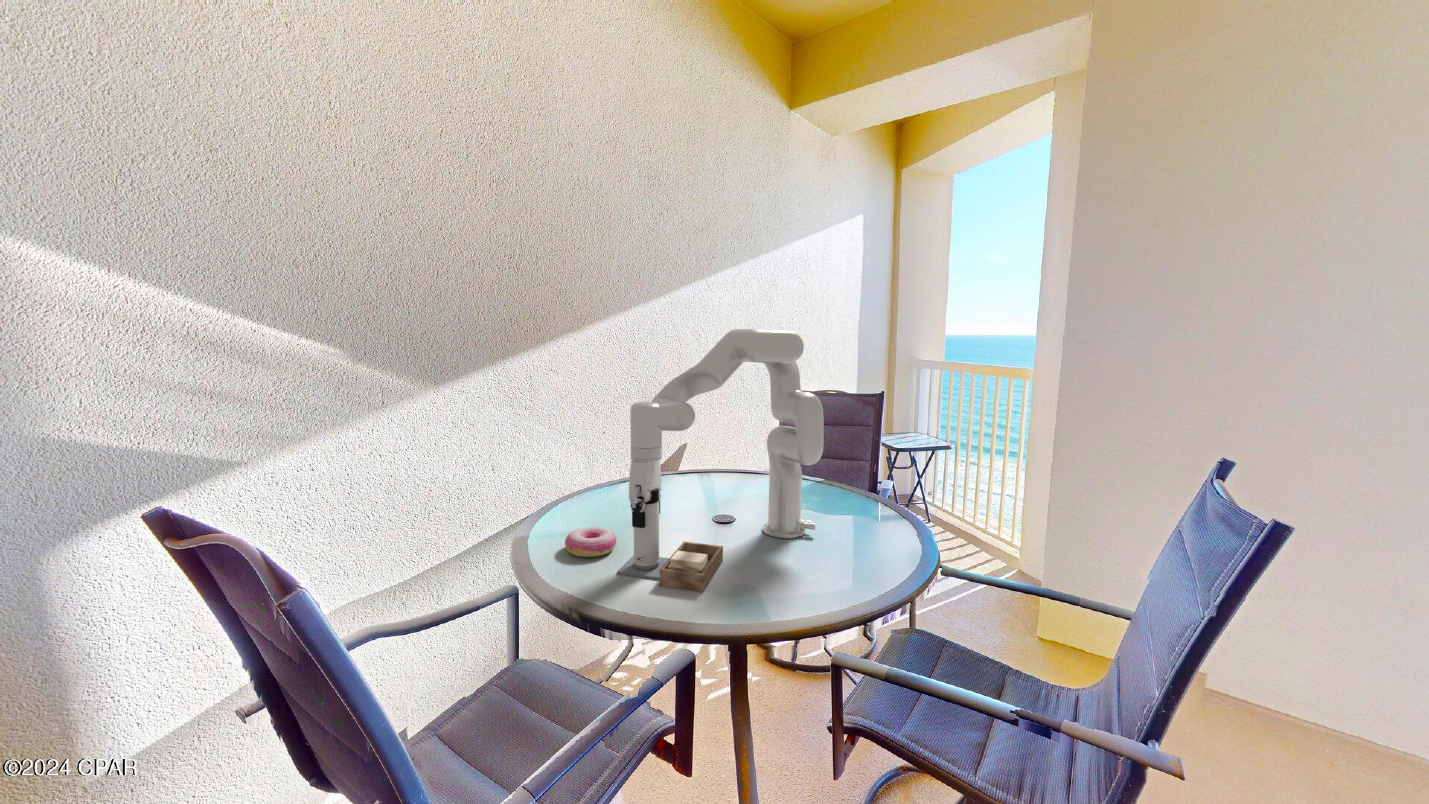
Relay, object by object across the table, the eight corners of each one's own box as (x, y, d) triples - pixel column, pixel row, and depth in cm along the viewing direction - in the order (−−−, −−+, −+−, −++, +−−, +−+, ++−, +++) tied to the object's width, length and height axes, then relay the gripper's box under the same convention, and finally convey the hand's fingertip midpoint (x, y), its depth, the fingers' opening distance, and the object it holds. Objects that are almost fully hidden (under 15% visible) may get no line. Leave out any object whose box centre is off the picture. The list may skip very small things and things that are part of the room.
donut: (621, 556, 141) (621, 538, 140) (569, 564, 136) (568, 545, 135) (611, 538, 153) (610, 521, 152) (562, 544, 148) (562, 527, 147)
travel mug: (639, 573, 129) (638, 493, 127) (630, 562, 135) (630, 485, 133) (663, 568, 132) (663, 489, 130) (654, 558, 138) (653, 482, 136)
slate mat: (674, 561, 138) (674, 559, 138) (659, 579, 127) (659, 577, 127) (635, 556, 141) (635, 553, 141) (616, 573, 130) (616, 571, 130)
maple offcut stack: (707, 578, 129) (707, 554, 128) (701, 587, 124) (701, 562, 123) (675, 573, 131) (675, 550, 130) (668, 582, 126) (668, 558, 126)
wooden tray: (722, 560, 138) (723, 546, 138) (703, 592, 122) (703, 575, 121) (683, 555, 141) (683, 541, 141) (659, 585, 124) (659, 569, 124)
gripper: (645, 444, 140) (646, 508, 142) (616, 459, 123) (617, 531, 125) (672, 446, 138) (672, 510, 140) (647, 462, 121) (647, 534, 123)
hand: (646, 520), depth 133 cm, fingers open, 9 cm apart
